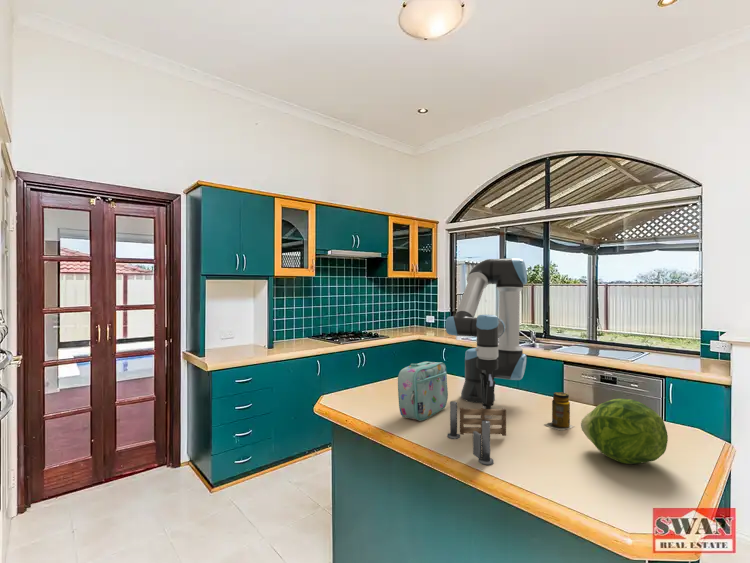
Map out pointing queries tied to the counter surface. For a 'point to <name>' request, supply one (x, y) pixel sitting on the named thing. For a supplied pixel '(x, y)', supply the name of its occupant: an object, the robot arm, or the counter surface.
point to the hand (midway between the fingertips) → (487, 423)
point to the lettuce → (626, 431)
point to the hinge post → (453, 421)
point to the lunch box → (422, 390)
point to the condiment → (560, 412)
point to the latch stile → (482, 444)
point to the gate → (479, 420)
